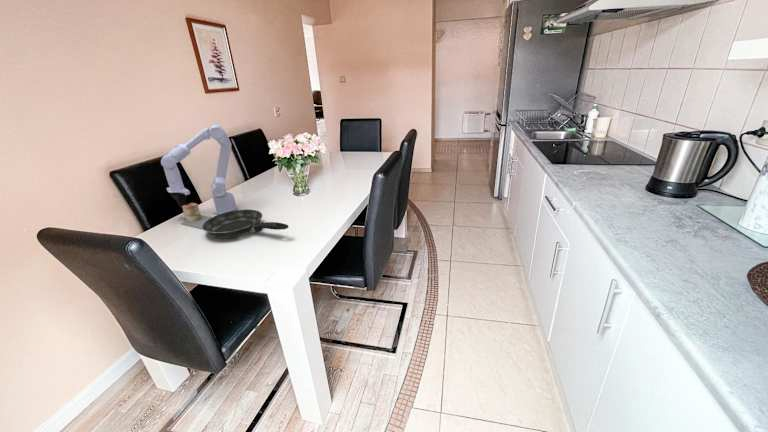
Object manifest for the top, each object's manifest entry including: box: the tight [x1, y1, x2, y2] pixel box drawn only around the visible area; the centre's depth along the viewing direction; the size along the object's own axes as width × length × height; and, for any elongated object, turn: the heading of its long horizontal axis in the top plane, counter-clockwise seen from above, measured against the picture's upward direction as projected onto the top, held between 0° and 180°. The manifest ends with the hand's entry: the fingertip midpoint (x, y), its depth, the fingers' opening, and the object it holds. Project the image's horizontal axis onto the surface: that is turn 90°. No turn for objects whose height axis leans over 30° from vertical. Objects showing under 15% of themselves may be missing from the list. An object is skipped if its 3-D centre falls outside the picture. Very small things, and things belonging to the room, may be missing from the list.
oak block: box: [182, 202, 202, 223], centre depth 153 cm, size 5×4×8 cm
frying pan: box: [201, 209, 289, 239], centre depth 139 cm, size 44×25×7 cm, turn 65°
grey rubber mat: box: [179, 214, 213, 230], centre depth 152 cm, size 11×18×1 cm, turn 64°
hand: (183, 206), depth 154 cm, fingers closed
